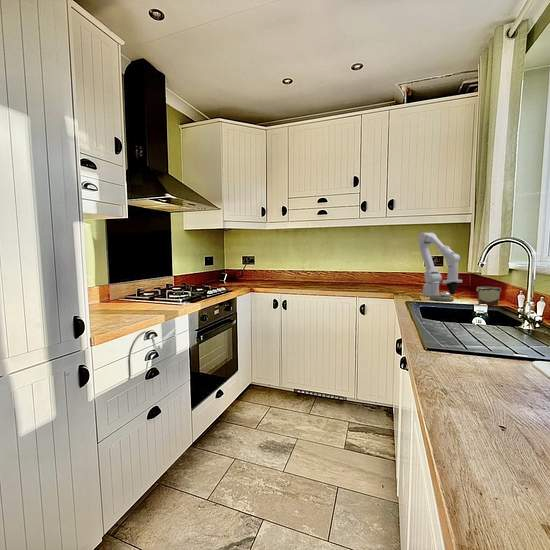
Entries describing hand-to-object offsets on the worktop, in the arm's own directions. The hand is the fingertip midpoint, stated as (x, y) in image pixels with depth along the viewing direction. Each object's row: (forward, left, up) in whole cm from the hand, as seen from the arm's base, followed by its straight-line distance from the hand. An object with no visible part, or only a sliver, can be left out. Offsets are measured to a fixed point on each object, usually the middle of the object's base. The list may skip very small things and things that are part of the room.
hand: (452, 294), depth 190 cm
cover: (0, -6, -1) cm, 6 cm away
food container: (+23, -1, -3) cm, 23 cm away
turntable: (0, -9, -3) cm, 9 cm away
